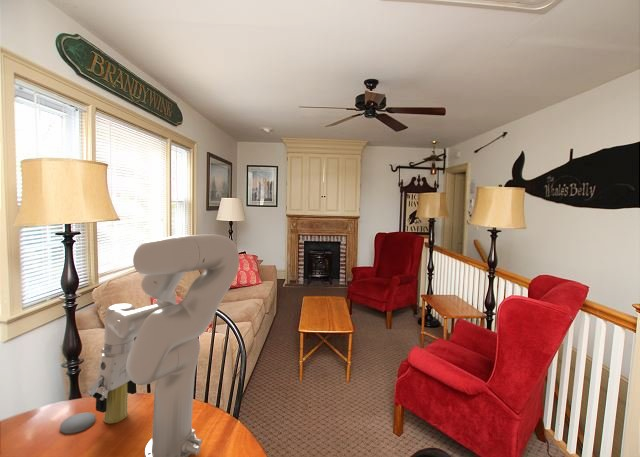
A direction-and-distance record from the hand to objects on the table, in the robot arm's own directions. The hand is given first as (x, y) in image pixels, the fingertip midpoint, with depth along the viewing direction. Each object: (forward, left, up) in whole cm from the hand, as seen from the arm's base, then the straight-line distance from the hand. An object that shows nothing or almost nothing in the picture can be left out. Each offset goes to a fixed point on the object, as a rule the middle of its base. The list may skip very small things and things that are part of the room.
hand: (116, 401), depth 92 cm
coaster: (+7, +6, -5) cm, 10 cm away
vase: (0, 0, -5) cm, 5 cm away
